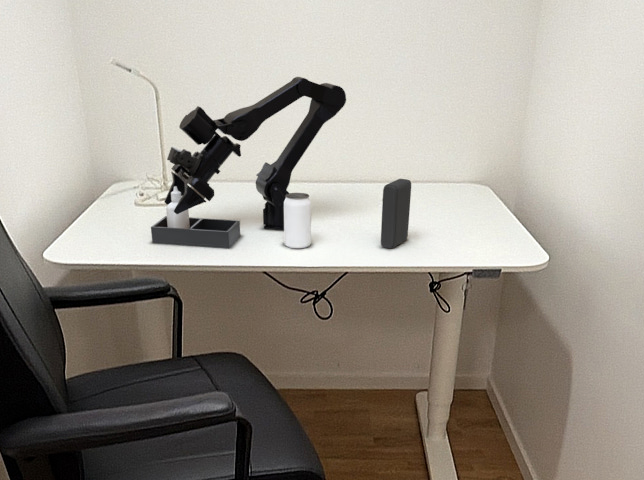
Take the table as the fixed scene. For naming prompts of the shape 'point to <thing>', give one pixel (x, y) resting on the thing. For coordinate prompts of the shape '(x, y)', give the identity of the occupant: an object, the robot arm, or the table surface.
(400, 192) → the dark grey upright block
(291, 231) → the can
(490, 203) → the table surface
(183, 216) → the eye dropper bottle
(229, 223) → the divided tray
